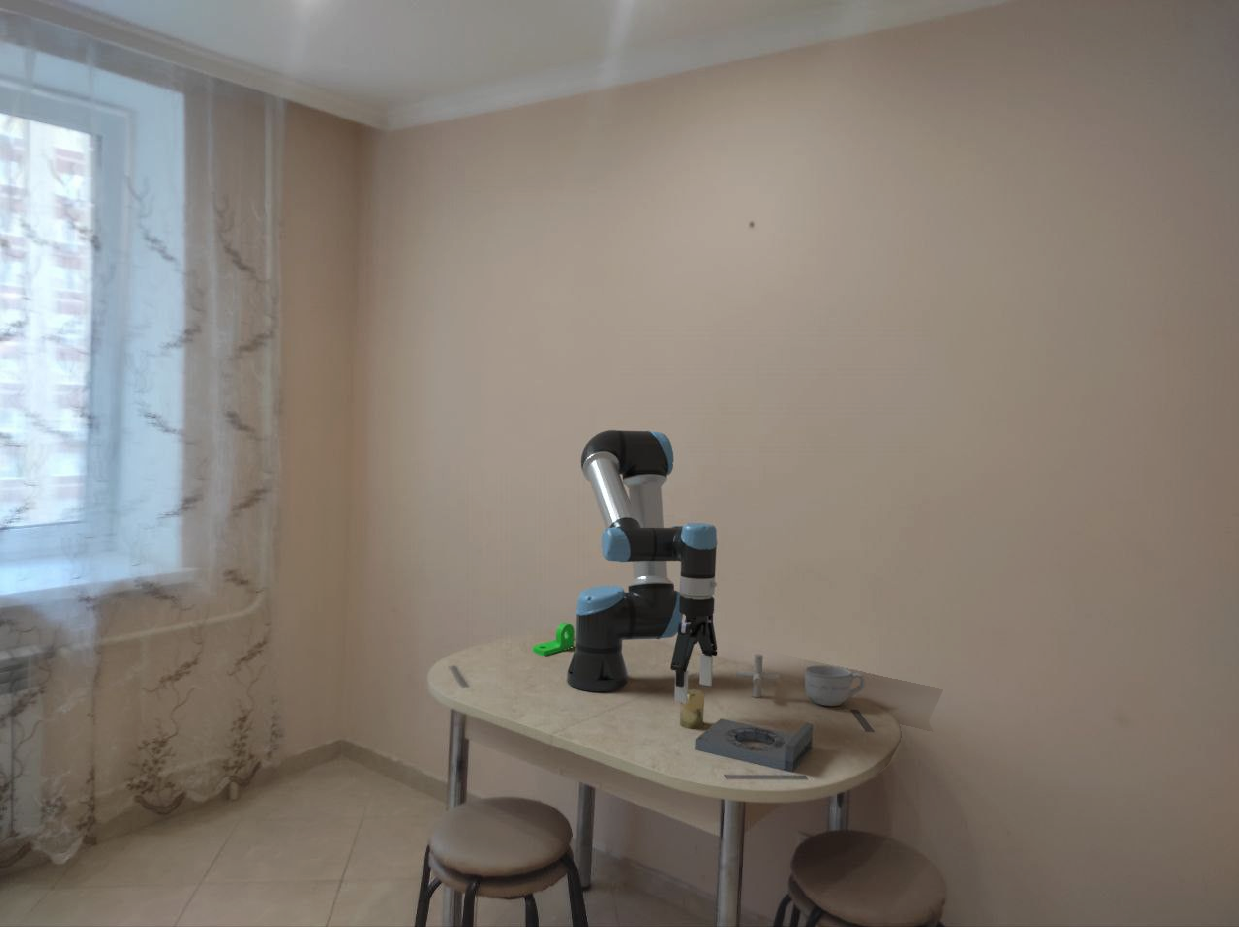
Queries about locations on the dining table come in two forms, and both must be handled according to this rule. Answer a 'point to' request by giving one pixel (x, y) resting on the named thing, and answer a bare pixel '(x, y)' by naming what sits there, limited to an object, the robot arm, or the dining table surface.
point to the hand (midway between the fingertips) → (693, 693)
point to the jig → (779, 753)
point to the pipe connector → (757, 676)
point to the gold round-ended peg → (692, 710)
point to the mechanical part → (557, 641)
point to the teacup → (830, 684)
